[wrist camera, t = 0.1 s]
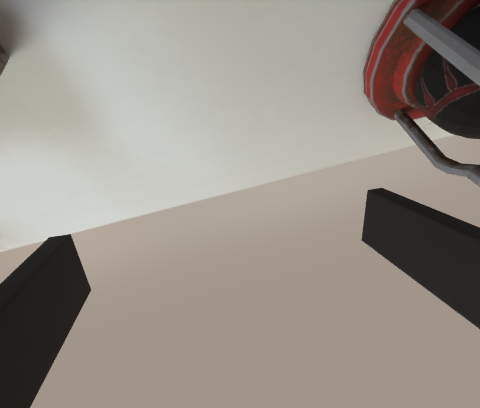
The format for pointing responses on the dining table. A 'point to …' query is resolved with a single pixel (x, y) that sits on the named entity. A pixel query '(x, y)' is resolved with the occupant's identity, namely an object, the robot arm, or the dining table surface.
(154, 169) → the dining table surface
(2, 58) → the spatula holder
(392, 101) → the hourglass
